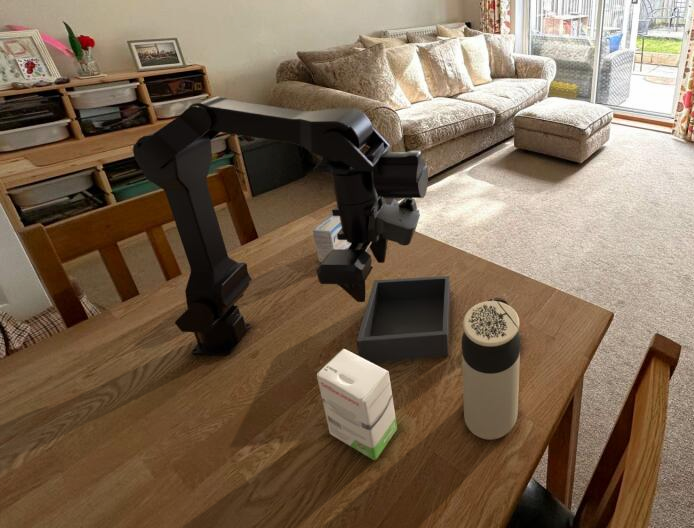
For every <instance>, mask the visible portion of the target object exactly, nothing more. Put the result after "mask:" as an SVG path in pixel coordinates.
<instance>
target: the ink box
mask: <svg viewBox="0 0 694 528" xmlns="http://www.w3.org/2000/svg"><path fill="white" fill-rule="evenodd" d="M316 379H317V382H318V387H319V392H320V396H321V400H322V404H323V410H324V415H325V419H326V423H327V427H328V431H329V435H330V436H332V437H334V438H335V439H337V440H339V441H341V442H342V443H344V444H345V445H347V446H349V447H350V448H352V449H354V450H356V452H359V453H360V454H362V455H364V456H365V457H367V458H369V459H371V460H372V461H376V460H377V459H378V458H379V456H380V455H381V453H382V452H383V451H384V450H385V448H386V447H387V445H388V443H389V442H390V441H391V439H392V437H393V436H394V435H395V433H396V432H397V430H398V425H397V418H396V411H395V405H394V398H393V391H392V384H391V378H390V372H389V370H387V369H385V368H383V367H381V366H379V365H377V364H375V363H374V362H373V363H371V362H369V361H367V360H365V359H363V358H361V357H359V355H357V354H355V353H354V352H351V351H350V350H348V349H345V348H342V349H341V350H340V351H339V352H338V353H337V354H336V355H334V357H332V358H331V359H330V361H328V363H326V364H325V365H324V366H323V367H322V368H321V369H320V370H319V371H318V372H317V373H316Z"/></svg>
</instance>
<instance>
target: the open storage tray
mask: <svg viewBox="0 0 694 528" xmlns="http://www.w3.org/2000/svg"><path fill="white" fill-rule="evenodd" d="M365 307H366V308H365V311H364V314H363V318H362V320H361V325H360V327H359V332H358V335H357V339H356V347H357V351H358V352H357V353H358V356H359V357H361V358H363V359H365V360H367V361H369V362H371V363H373V364H374V363H385V362H394V361H395V362H396V361H408V360H419V359H431V358H432V359H433V358H444V357H449V343H450V342H449V341H450V318H451V317H450V315H451V314H450V313H451V281H450V275H437V276H423V277H421V276H420V277H407V278H405V277H404V278H390V279H388V278H387V279H375V280H373V284H372V287H371V290H370V293H369V297H368V300H367V304H366V306H365Z"/></svg>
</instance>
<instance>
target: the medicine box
mask: <svg viewBox="0 0 694 528" xmlns="http://www.w3.org/2000/svg"><path fill="white" fill-rule="evenodd" d="M341 228H342V226H341V222H340V217H339V216H333V213H332V214H331V215H330V216H328V217H327V218H326V219H325V220H323V222H321V223H320V224H319V225H318V226H317V227H315V228H314V229H313V230H312V234H313V239H314V243H315V244H314V245H315V249H316V254H317V259H318V262H320V263H322V262H323V260H324V259H325V258H326V256H327V255H328V254H329V253H330V252H331V251H332V250H333V249H348V248H349V246H350V245H351V243H349V242H347V240H338V237H337V233H338V232H339V231H340V229H341Z"/></svg>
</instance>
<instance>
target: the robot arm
mask: <svg viewBox="0 0 694 528" xmlns="http://www.w3.org/2000/svg"><path fill="white" fill-rule="evenodd" d="M220 133H223V134H229V135H236V136H242V137H248V138H254V139H262V140H267V141H274V142H275V141H276V142H282V143H288V144H294V145H297V146H300V147H303V148H304V149H306V151H308V152H309V153H310V154H312V155H315V156H317V157H322V158H321V160H320V162H319V163H318V164H317V165H316V166H315V167H314V168H313V171H314V172H315V173H330V176H331V181H332V186H333V191H334V196H335V201H336V204H335V205H334V207H333V208H332V209H331V212H332V214H333V216H339V217H340V222H341V226H342V228H341V229H340V231H339V232H338V233H337V237H338V240H347V242H349V243H351V245H350V246H349V248H348V249H333V250H332V251H331V252H330V253H329V254H328V255H327V256H326V258H325V259H324V260H323V262H320V264H319V265H318V267H317V269H315V272H316V275H317V279H318V282H319V283H320V284H321V285H337V286H338V287H340V288H341V289H342V290H344V291H345V292H346V293H347V294H349V296H350V297H351V298H352V299H354V301H356V302H357V303H364V302H365V301H366V280H367V279H368V278H369V275H370V274H371V272H372V270H373V268H374V266H372V262H373V261H372V255H373V256H374V258H375V261H377V263H379V264H384V263H385V262H386V257H387V248H388V241H391V242H394V243H398V245H401V246H405V247H406V246H409V245H410V244H411V242H412V239H413V237H414V234H415V233H416V229H417V226H418V223H419V220H420V217H421V214H420V209H418V206H417V202H416V199H425V197H426V194H427V191H428V185H429V170H428V166H427V165H426V162H425V159H424V158H422V152H421V150H409V151H390V149H391V148H392V147H391V145H390V144H389V143H388V142H387V141H386V139H385V138H384V137H383V136H382V135H381V134H380V133H379V132H378V131H377V130H376V128H375V127H374V126H373V124H372V122H371V119H369V118H368V116H367V115H366V113H365V112H364V111H362V110H360V109H357V108H327V109H321V110H308V111H307V110H298V109H291V108H286V107H279V106H272V105H268V104H267V105H266V104H261V103H260V104H259V103H252V102H246V101H240V100H235V99H228V98H227V97H224V96H219V95H217V96H211V97H208V98H206V99H203V100H199V101H197V102H195V103H192V104H191V105H189V106H188V107H187V108H186V109H185V110H184V111H183V112H182V113H181V114H180V115H178V116H177V117H176V118H174V119H173V120H171V121H170V122H169V123H167V124H166V125H164V126H163V127H161V128H160V129H158V130H156V131H153V132H151V133H148V134H145V135H143V136H142V137H139V138H138V139H137V141H136V142H135V143H134V144H133V146H132V152H133V153H132V154H133V157H134V159H135V161H136V163H137V164H138V166H139V168H140V171H141V172H142V174H143V176H144V177H145V179H146V180H148V181H149V182H151V183H153V184H154V185H155V186H157V187H159V188H160V189H161V190H163V192H164V194H165V196H166V200H167V202H168V206H169V208H170V211H171V215H172V217H173V220H174V223H175V226H176V229H177V232H178V236H179V238H180V241H181V244H182V246H183V250H184V253H185V256H186V259H187V262H188V265H189V268H190V273H189V277H188V280H187V282H186V286H185V290H184V293H185V300H186V307H187V309H186V310H185V311H184V312H183V313H182V314H181V315H180V316H179V317H178V318H177V319H176V320H175V321H174V324H175V325H176V327H177V328H178V329H179V330H180V331H181V332H182V333H193V334H194V337H195V340H196V343H197V344H196V345H195V346H194V348H193V349H192V350H191V355H193V356H229V355H231V354H232V352H233V351H234V350H235V348H236V347H237V346H238V344H239V343H240V342H241V341H242V339H243V338H244V337H245V336H246V334H247V333H248V332H249V330H250V329H251V327H252V324H251V323H250V322H249V323H248V322H245V319H244V315H243V314H242V313H241V312H240V308H239V305H235V304H236V303H237V302H238V301H239V300H240V299H241V298H243V296H244V293H245V292H246V291H247V290H248V288H249V286H250V282H251V281H253V278H252V276H251V275H250V273H249V271H248V264H247V263H246V262H245V261H243V262H238V261H236V260H235V259H232V258H231V257H229V255H228V251H227V248H226V244H225V241H224V238H223V234H222V232H221V227H220V223H219V220H218V216H217V213H216V210H215V206H214V203H213V199H212V196H211V192H210V189H209V188H210V187H209V185H208V181H207V180H208V179H207V178H208V175H209V172H210V169H211V165H212V162H213V154H212V152H213V151H212V150H213V149H212V141H213V140H214V139H215V138H216V137H217V136H218V135H219V134H220ZM365 145H366V146H367V147H369V148H368V149H367V150H366V151H365V152H364V153H362V151H361V150H362V149H363V148H364V147H365ZM396 199H402V200H401V201H400V202H399V201H397V200H396ZM368 249H370V251H371V253H372V254H371V253H369V252H367V251H368Z"/></svg>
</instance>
